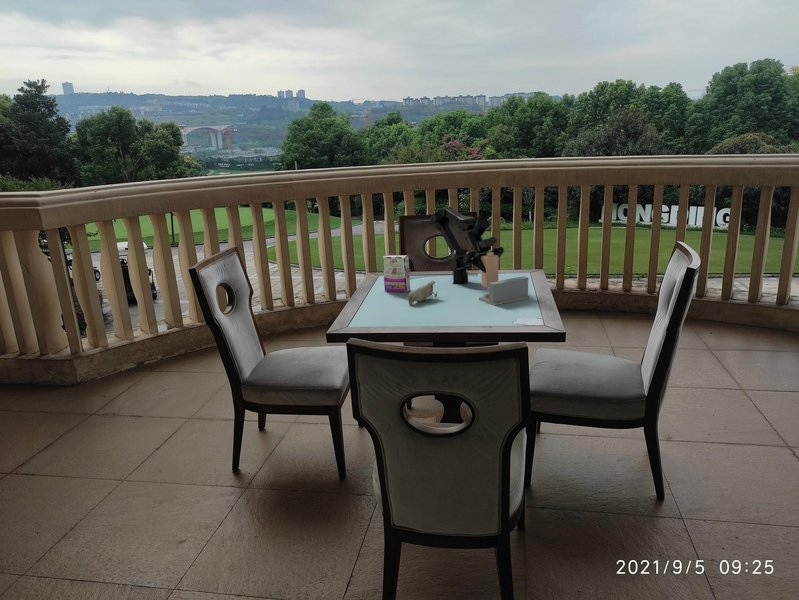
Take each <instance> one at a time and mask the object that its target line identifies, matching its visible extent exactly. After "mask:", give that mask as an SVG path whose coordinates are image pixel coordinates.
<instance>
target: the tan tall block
mask: <svg viewBox="0 0 799 600" xmlns="http://www.w3.org/2000/svg"><path fill="white" fill-rule="evenodd" d="M481 260H482V263H483V265H484V267H485V269H486V273H484V272H483V271H482V270H481V286H483V287H485V288H489V283H491V282H496V281H499V269H498V268H499V258H498V256H497V255H494V254H493V252H490V251H489V252H488V253H487V255H486V256H481Z"/></svg>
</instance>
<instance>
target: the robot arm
mask: <svg viewBox="0 0 799 600" xmlns="http://www.w3.org/2000/svg"><path fill="white" fill-rule="evenodd" d="M450 222H453V223H455V224H456V225H457V228H458V229H459V230H460V231H461V232H463V233H466V232H467V233H466V234H465V237H464V240H465V241H469V243H470V246H471V247H470V249H471V251H468V249H466V248H462V247H461V244H459V242H458V240H457V238H456V235H454V232H453V230H452V229H451V227H450ZM430 223H431V224H432V226H433V227H434V229H436V230H438V231H439V232H440V234H441V235H442V237H443V239H444V241H445V242H446V244H447V247H448V248H449V251H450V252H451V254H452V255H451V262H450V264H449V270H450V271H451V272H452V276H453V277H452V279H453V281H452V284H454V285H455V284H459V285H461V284H462V285H463V284H464V283H466V284H467V283H468V282H469V272H468V270H471V265H473V266H475V267H476V268H478V269H479V270H480V271H481V272H482V271H483V272H484V273H486V269H485V267H484V265H483V263H482V260H481V256H486V255H487V253H488V252H493V254H494V255H497V256H498V259H499V258H501V256H502V255H503V254H504V253H505V249H504V247H503V246H497V247H496V246H495V245H496V244H497V243H498V241H497V238H496V236H490V237H489V238H485V239H483V237H482V236H484V235H485V233H486V232H487V231H488V229H489V228H490V226H491V224H490V223H491V222H490V221H489V220H488V219H487V218H484V217H483V216H482V215H478V216H477V217H476V218H475V217H472V216H468V215H467V216H465V215H463V214H462V213H460V212H459V211H457V210H455V209H454V208H453V207H451V206H447V207H446V206H445V207H442V208H441V209H440V210H438V211H436V212H435V213H432V215H431V217H430ZM492 246H495V247H494V248H493V249H492ZM491 249H492V250H491ZM498 270H499V267H498ZM464 285H465V284H464Z"/></svg>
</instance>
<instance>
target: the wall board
mask: <svg viewBox="0 0 799 600" xmlns="http://www.w3.org/2000/svg"><path fill="white" fill-rule="evenodd" d="M479 299H480V300H479ZM527 299H530V295H529V277H528V276H525V275H521V276H518V277H517V276H515V277H513V278H512V277H511V278H508V279H507V278H506V279H501V280H498V281H496V282H491V283H489V287H488V292H485V293H483V294H482V296H480V297H478V300H479V301H482V302H484V301H485V303H487V304H490V305H493V306H494V305H495V306H498V305H499V304H500V305H503V303H504V304H509V303H514V302H517V301H518V302H519V301H521V300H527ZM508 302H509V303H508Z"/></svg>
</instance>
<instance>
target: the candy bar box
mask: <svg viewBox="0 0 799 600" xmlns="http://www.w3.org/2000/svg"><path fill="white" fill-rule="evenodd" d="M382 266H383V269H382V270H383V281H384V282H383V283H384V292H389V293H408V292H409V291H410V290H411V277H410V276H411V275H410V259H409V255H404V254H403V255H399V254H398V255H397V254H385V255H383V256H382ZM410 292H411V291H410Z"/></svg>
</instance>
